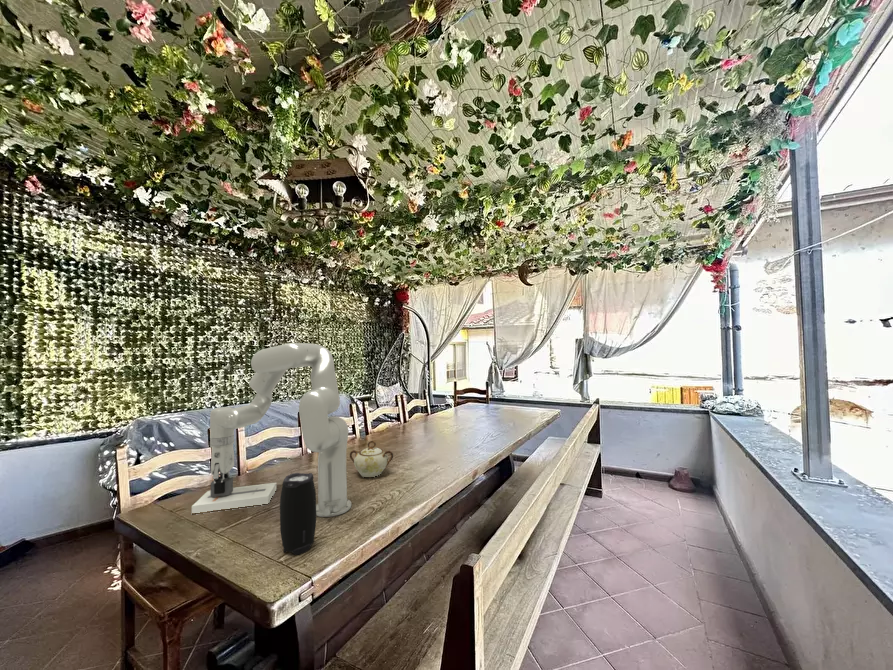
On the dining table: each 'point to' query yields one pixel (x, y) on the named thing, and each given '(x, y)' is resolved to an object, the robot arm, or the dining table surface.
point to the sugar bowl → (371, 460)
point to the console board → (236, 498)
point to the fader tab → (227, 487)
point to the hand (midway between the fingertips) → (222, 490)
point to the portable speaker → (298, 512)
